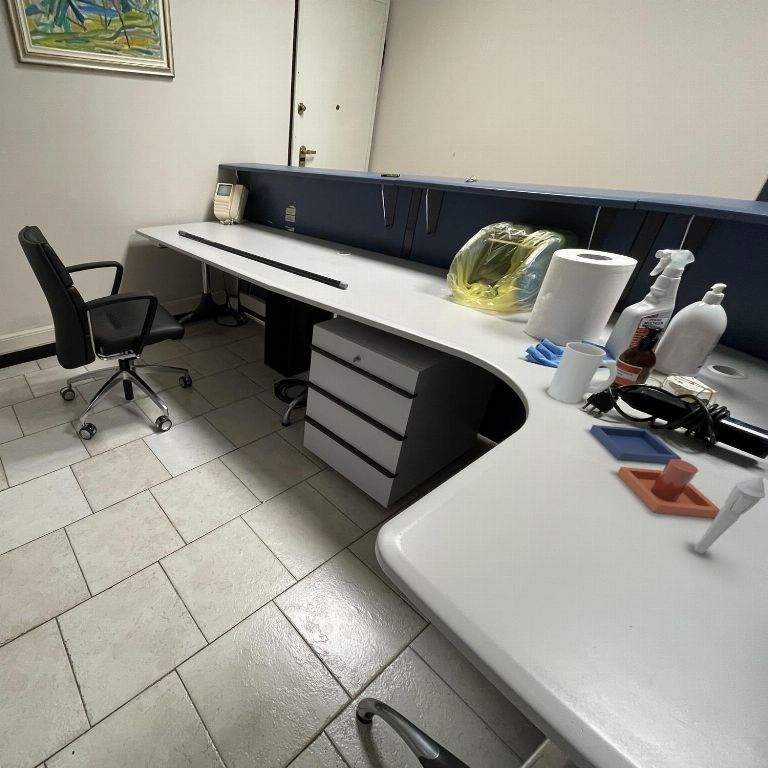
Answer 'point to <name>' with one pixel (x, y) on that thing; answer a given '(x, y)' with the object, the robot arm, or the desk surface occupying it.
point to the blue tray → (633, 444)
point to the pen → (733, 510)
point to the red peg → (673, 480)
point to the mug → (579, 372)
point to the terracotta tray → (686, 504)
